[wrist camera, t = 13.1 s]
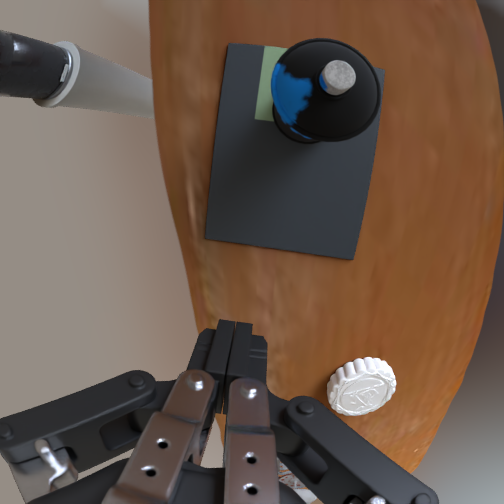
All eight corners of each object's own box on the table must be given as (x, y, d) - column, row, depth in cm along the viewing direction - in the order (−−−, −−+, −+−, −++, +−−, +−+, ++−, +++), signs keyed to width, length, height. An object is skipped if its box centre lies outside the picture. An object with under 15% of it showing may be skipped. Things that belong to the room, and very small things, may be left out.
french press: (294, 460, 57) (294, 554, 33) (255, 443, 55) (245, 546, 31) (327, 442, 54) (337, 544, 30) (288, 423, 52) (287, 538, 28)
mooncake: (330, 410, 50) (333, 424, 47) (321, 366, 46) (324, 381, 43) (392, 394, 48) (397, 407, 45) (391, 347, 45) (397, 361, 41)
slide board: (205, 237, 41) (204, 238, 40) (229, 43, 32) (228, 43, 31) (352, 259, 40) (353, 260, 40) (383, 70, 31) (384, 69, 31)
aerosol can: (324, 72, 32) (371, 7, 13) (348, 133, 34) (420, 123, 15) (262, 92, 33) (248, 36, 15) (286, 153, 36) (300, 159, 17)
